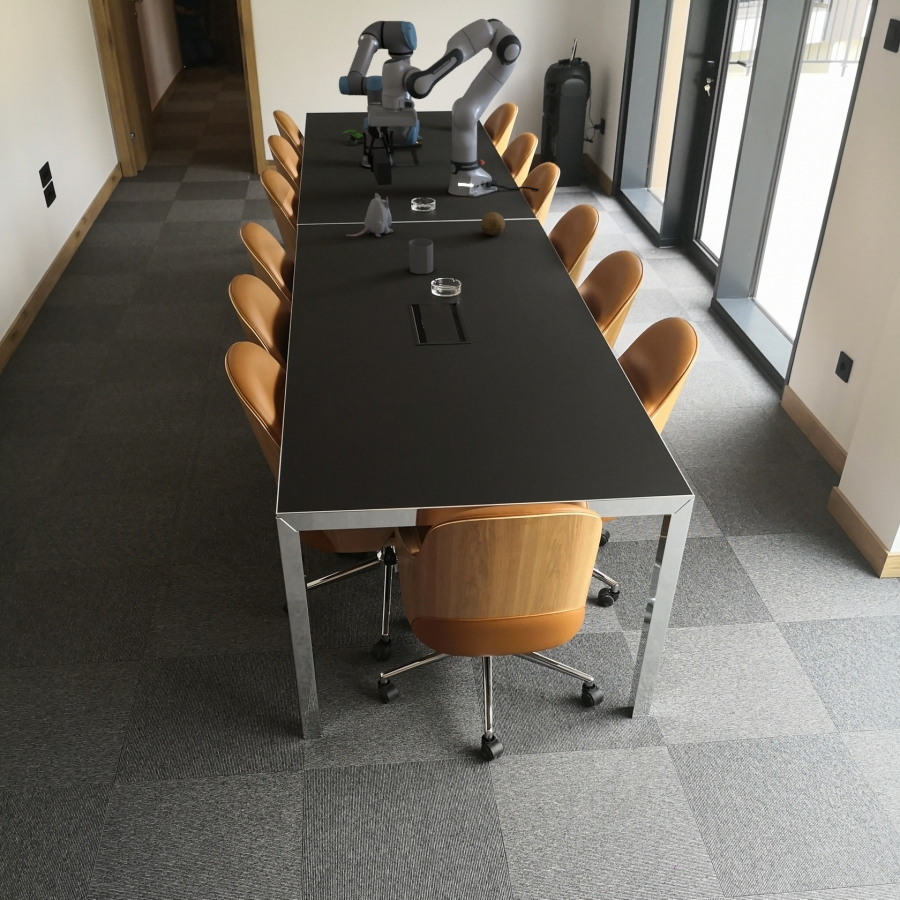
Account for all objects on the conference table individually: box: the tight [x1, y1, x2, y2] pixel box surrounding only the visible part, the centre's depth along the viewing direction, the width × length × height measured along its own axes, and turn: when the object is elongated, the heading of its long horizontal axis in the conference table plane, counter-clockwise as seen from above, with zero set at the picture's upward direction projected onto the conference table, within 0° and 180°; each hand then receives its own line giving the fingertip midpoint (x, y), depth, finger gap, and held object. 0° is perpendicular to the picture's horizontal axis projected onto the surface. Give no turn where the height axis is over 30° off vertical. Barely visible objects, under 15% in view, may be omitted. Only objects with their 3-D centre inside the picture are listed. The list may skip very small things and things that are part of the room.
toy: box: [346, 192, 394, 238], centre depth 334 cm, size 9×24×15 cm, turn 137°
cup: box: [408, 237, 434, 275], centre depth 305 cm, size 8×8×10 cm
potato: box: [480, 211, 506, 237], centre depth 338 cm, size 10×14×8 cm
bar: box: [371, 149, 393, 186], centre depth 371 cm, size 24×6×9 cm, turn 11°
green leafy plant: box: [340, 129, 363, 146], centre depth 465 cm, size 6×13×30 cm
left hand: (379, 170), depth 381 cm, fingers closed on bar, 6 cm apart
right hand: (392, 137), depth 359 cm, fingers open, 8 cm apart
